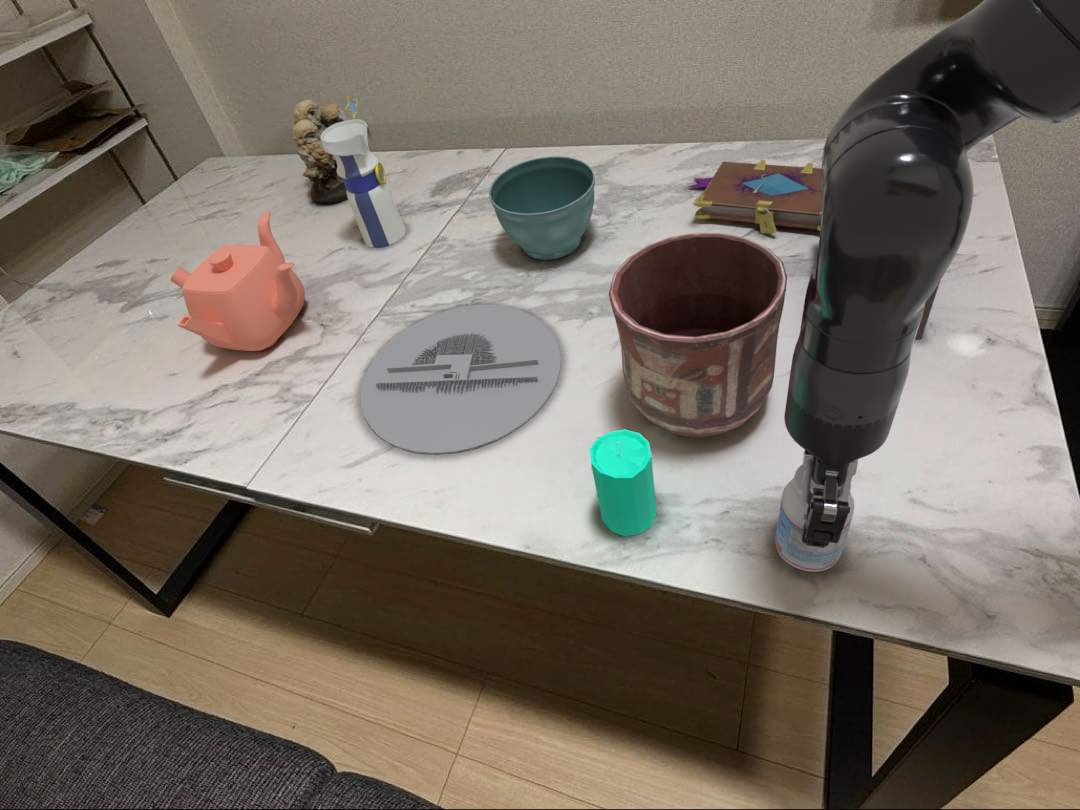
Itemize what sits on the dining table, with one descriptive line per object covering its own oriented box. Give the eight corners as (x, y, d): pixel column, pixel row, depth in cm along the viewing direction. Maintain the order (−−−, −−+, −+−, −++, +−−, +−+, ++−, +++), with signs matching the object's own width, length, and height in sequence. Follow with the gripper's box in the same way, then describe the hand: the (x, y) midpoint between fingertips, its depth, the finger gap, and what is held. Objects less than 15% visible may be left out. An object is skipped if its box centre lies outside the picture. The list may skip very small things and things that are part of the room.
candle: (596, 532, 71) (581, 465, 62) (605, 486, 74) (593, 416, 66) (653, 539, 69) (646, 470, 60) (660, 491, 73) (654, 420, 64)
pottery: (629, 349, 88) (617, 234, 75) (769, 347, 84) (781, 225, 71) (617, 456, 77) (600, 342, 64) (778, 460, 73) (795, 339, 60)
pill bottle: (785, 511, 68) (796, 444, 60) (848, 533, 66) (869, 465, 57) (766, 560, 65) (775, 495, 57) (831, 584, 62) (850, 520, 54)
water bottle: (411, 217, 121) (360, 77, 103) (404, 244, 116) (349, 101, 98) (368, 224, 123) (311, 86, 104) (359, 251, 117) (296, 111, 99)
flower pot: (618, 221, 109) (611, 159, 101) (576, 282, 100) (565, 219, 92) (532, 210, 116) (520, 152, 108) (486, 266, 107) (469, 206, 99)
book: (697, 177, 115) (697, 149, 111) (851, 189, 105) (856, 159, 101) (665, 226, 105) (664, 197, 102) (830, 245, 95) (836, 213, 92)
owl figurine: (350, 208, 128) (312, 122, 115) (298, 209, 131) (256, 125, 119) (386, 160, 139) (355, 76, 127) (338, 162, 143) (303, 81, 130)
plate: (333, 454, 85) (329, 448, 84) (393, 310, 103) (391, 304, 102) (546, 454, 79) (544, 448, 78) (571, 301, 97) (570, 295, 96)
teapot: (304, 275, 115) (266, 204, 105) (331, 331, 103) (291, 257, 93) (202, 320, 111) (152, 251, 101) (217, 384, 99) (163, 313, 89)
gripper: (907, 469, 43) (862, 589, 55) (896, 320, 52) (859, 452, 64) (784, 455, 45) (766, 573, 57) (793, 315, 54) (776, 443, 66)
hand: (815, 509), depth 61 cm, fingers closed on pill bottle, 6 cm apart
